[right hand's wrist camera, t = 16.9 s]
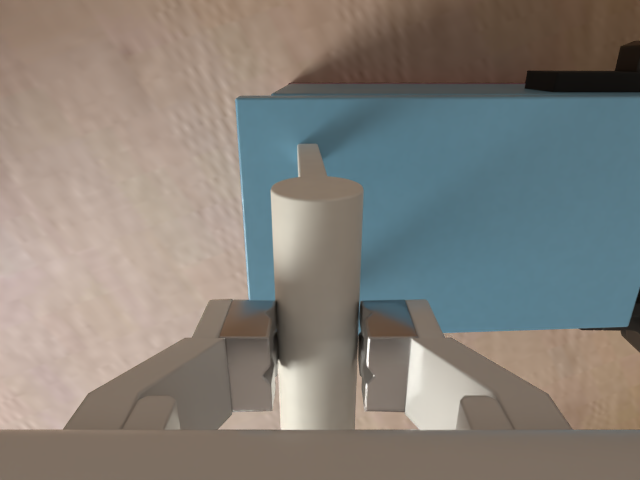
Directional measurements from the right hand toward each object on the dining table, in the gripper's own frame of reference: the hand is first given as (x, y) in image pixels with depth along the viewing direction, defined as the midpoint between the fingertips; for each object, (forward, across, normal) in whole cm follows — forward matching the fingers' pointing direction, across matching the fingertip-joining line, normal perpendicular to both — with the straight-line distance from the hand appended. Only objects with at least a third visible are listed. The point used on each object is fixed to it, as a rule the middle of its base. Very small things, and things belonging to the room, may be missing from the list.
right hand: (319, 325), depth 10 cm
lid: (+8, +5, 0) cm, 9 cm away
